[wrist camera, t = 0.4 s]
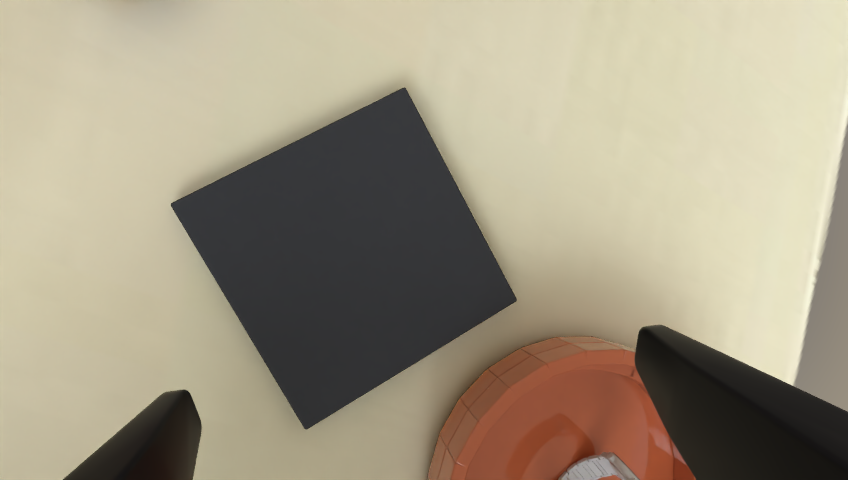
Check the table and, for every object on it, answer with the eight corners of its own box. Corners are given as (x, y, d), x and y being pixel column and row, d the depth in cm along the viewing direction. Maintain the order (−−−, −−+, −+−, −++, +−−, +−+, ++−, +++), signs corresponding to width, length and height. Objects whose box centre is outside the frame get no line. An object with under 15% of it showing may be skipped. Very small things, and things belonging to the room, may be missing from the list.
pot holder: (511, 298, 25) (518, 300, 24) (306, 424, 23) (305, 430, 22) (402, 91, 24) (405, 86, 23) (175, 204, 22) (169, 203, 21)
